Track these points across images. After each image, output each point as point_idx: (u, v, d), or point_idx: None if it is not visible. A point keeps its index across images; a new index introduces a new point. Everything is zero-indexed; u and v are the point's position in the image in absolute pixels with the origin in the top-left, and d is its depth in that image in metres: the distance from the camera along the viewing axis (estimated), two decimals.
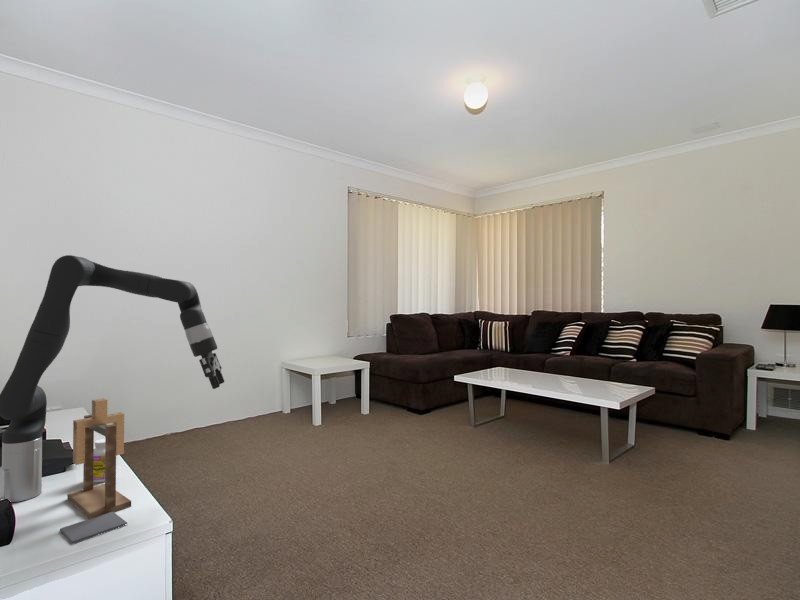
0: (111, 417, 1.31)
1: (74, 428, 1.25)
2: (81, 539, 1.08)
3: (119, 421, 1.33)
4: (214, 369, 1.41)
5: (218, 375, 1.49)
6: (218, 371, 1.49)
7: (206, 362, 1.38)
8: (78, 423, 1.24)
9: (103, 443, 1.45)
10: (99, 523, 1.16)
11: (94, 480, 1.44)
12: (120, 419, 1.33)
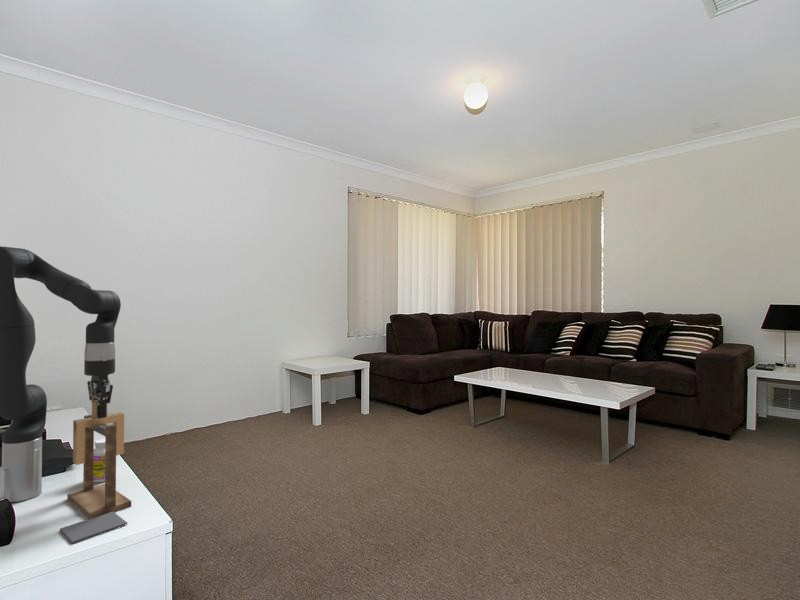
0: (111, 417, 1.31)
1: (74, 428, 1.25)
2: (81, 539, 1.08)
3: (119, 421, 1.33)
4: None
5: None
6: None
7: (109, 391, 1.26)
8: (78, 423, 1.24)
9: (103, 443, 1.45)
10: (99, 523, 1.16)
11: (94, 480, 1.44)
12: (120, 419, 1.33)
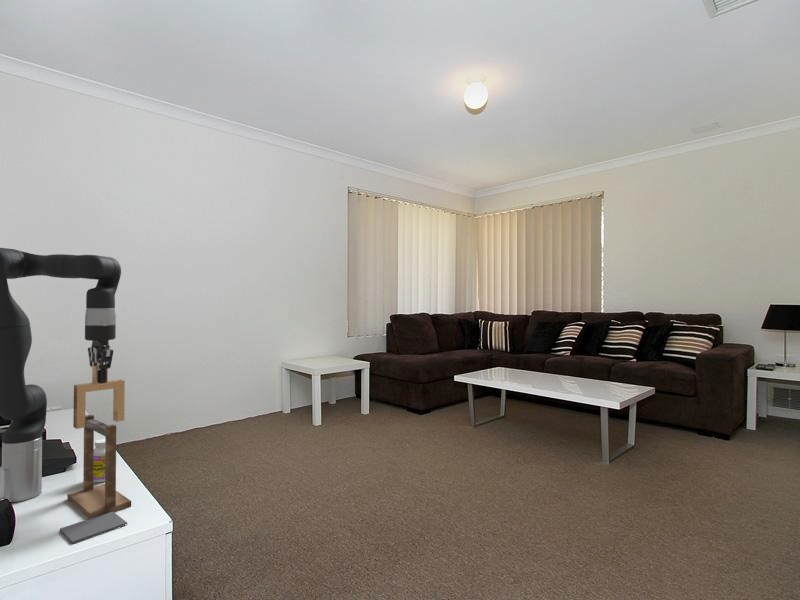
0: (111, 383, 1.31)
1: (74, 392, 1.25)
2: (81, 539, 1.08)
3: (120, 387, 1.33)
4: (107, 361, 1.30)
5: None
6: None
7: (109, 355, 1.27)
8: (78, 387, 1.25)
9: (103, 443, 1.45)
10: (99, 523, 1.16)
11: (94, 480, 1.44)
12: (120, 385, 1.33)
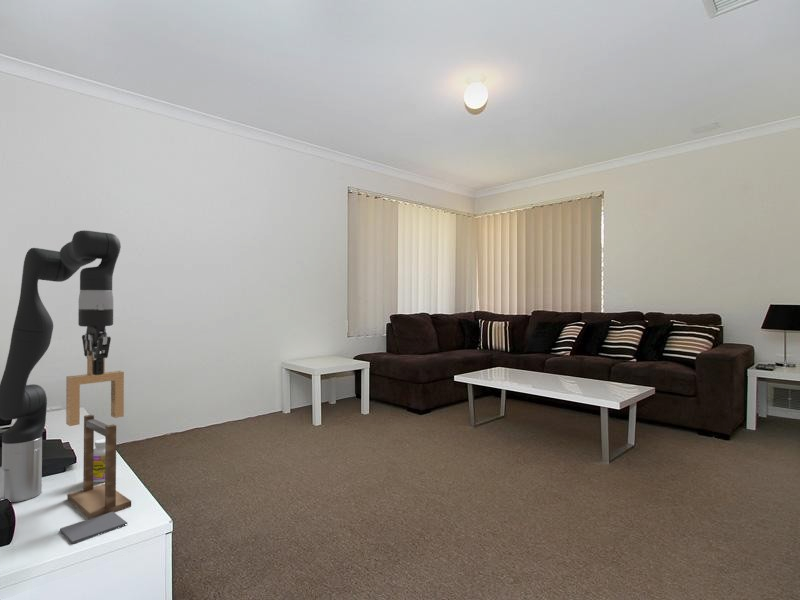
0: (109, 374, 1.17)
1: (67, 385, 1.11)
2: (81, 539, 1.08)
3: (118, 380, 1.18)
4: None
5: None
6: None
7: (106, 343, 1.12)
8: (72, 379, 1.10)
9: (103, 443, 1.45)
10: (99, 523, 1.16)
11: (94, 480, 1.44)
12: (119, 377, 1.18)
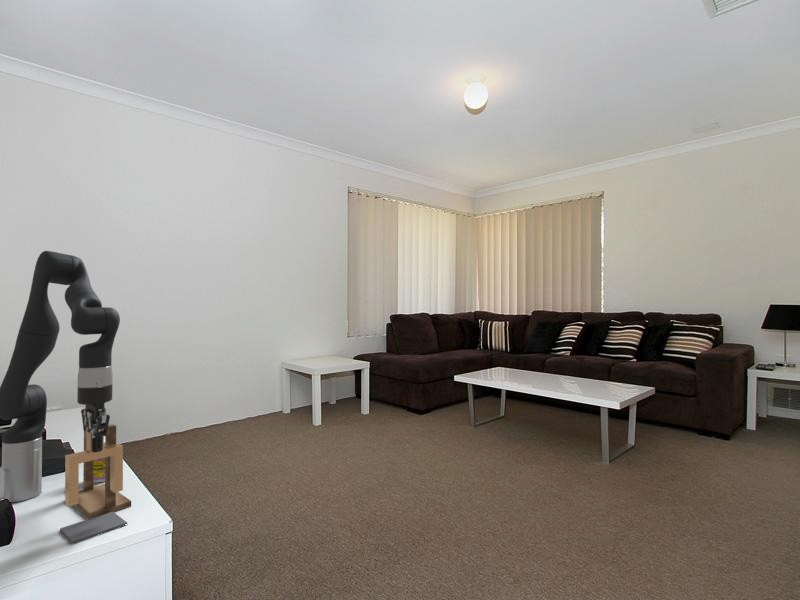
0: (108, 450, 1.16)
1: (66, 464, 1.11)
2: (81, 539, 1.08)
3: (118, 454, 1.18)
4: None
5: None
6: None
7: (105, 422, 1.12)
8: (71, 459, 1.10)
9: None
10: (99, 523, 1.16)
11: (94, 480, 1.44)
12: (118, 452, 1.18)
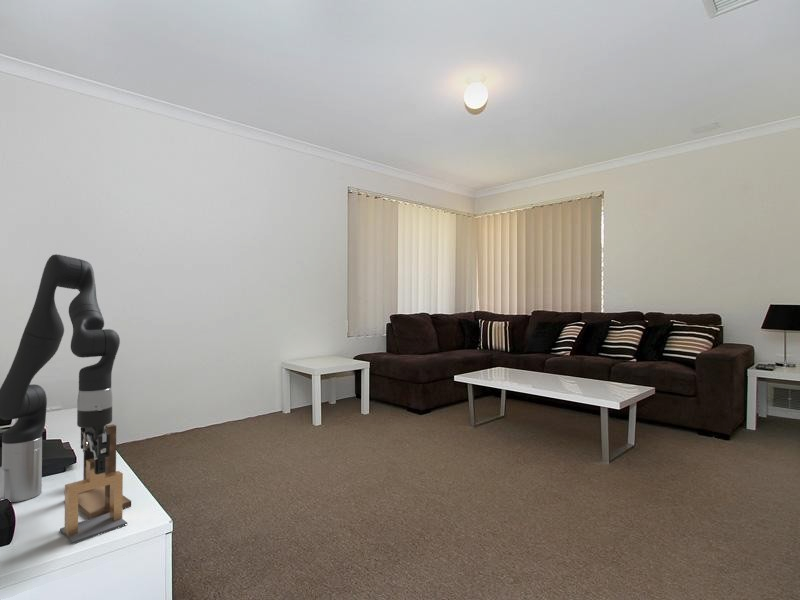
0: (108, 478, 1.16)
1: (66, 494, 1.11)
2: (81, 539, 1.08)
3: (117, 482, 1.18)
4: None
5: (90, 455, 1.17)
6: None
7: (106, 440, 1.11)
8: (70, 489, 1.10)
9: None
10: (99, 523, 1.16)
11: None
12: (118, 480, 1.18)
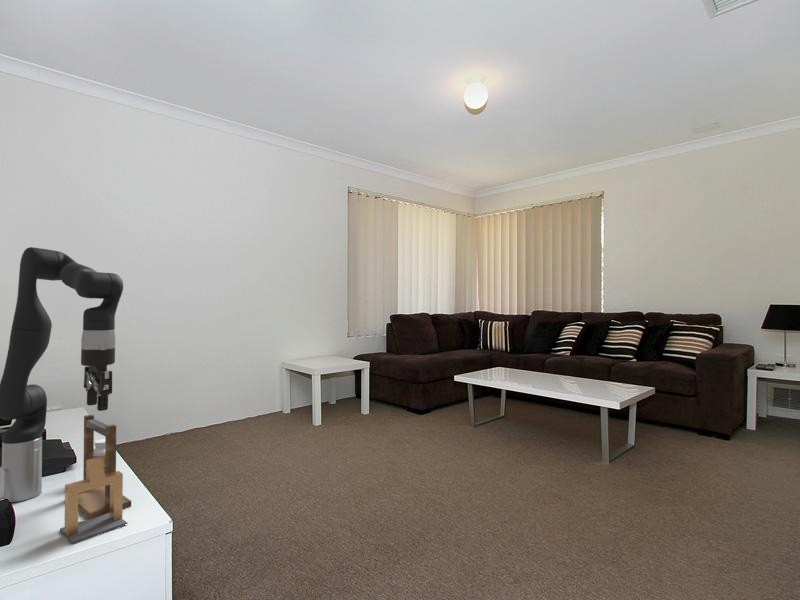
0: (108, 478, 1.16)
1: (66, 494, 1.11)
2: (81, 539, 1.08)
3: (117, 482, 1.18)
4: None
5: (93, 394, 1.21)
6: (94, 389, 1.21)
7: (109, 377, 1.14)
8: (70, 489, 1.10)
9: (103, 443, 1.45)
10: (99, 523, 1.16)
11: None
12: (118, 480, 1.18)
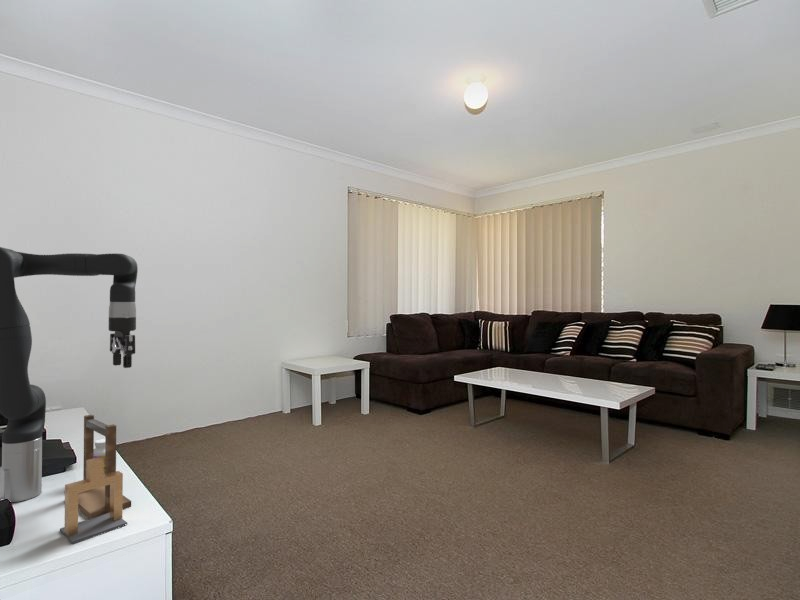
0: (108, 478, 1.16)
1: (66, 494, 1.11)
2: (81, 539, 1.08)
3: (117, 482, 1.18)
4: None
5: (117, 356, 1.45)
6: (119, 352, 1.46)
7: (132, 340, 1.39)
8: (70, 489, 1.10)
9: (103, 443, 1.45)
10: (99, 523, 1.16)
11: None
12: (118, 480, 1.18)
